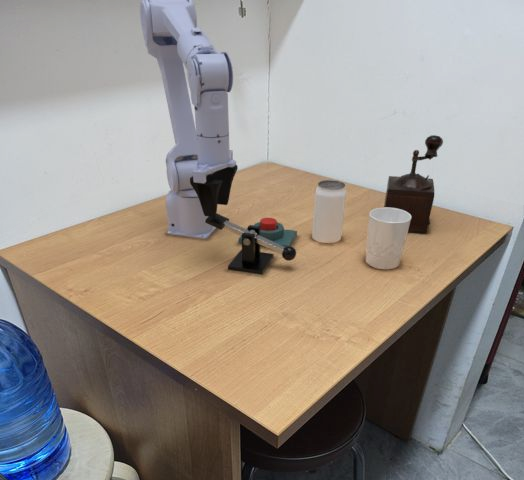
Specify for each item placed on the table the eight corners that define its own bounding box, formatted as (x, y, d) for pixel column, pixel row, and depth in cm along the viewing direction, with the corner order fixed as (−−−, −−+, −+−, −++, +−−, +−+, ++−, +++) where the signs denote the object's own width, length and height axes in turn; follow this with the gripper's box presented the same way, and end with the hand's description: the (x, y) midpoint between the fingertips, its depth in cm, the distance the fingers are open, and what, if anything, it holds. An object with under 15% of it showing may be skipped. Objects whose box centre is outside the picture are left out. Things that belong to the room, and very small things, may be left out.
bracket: (228, 270, 95) (226, 236, 91) (241, 253, 101) (240, 220, 97) (262, 275, 94) (262, 240, 89) (273, 258, 100) (274, 224, 95)
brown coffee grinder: (430, 234, 110) (449, 151, 99) (380, 229, 112) (393, 147, 101) (427, 210, 122) (444, 133, 112) (382, 206, 124) (395, 130, 113)
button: (257, 230, 104) (258, 222, 103) (262, 224, 107) (262, 216, 106) (274, 232, 103) (274, 224, 102) (278, 226, 106) (278, 218, 105)
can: (339, 246, 105) (346, 190, 98) (310, 243, 106) (314, 188, 99) (342, 234, 110) (348, 180, 103) (313, 231, 111) (317, 178, 104)
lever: (203, 227, 93) (206, 214, 92) (211, 219, 97) (214, 207, 95) (290, 266, 93) (295, 254, 91) (295, 257, 96) (300, 245, 94)
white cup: (404, 257, 101) (413, 210, 95) (399, 274, 95) (409, 225, 89) (365, 251, 103) (372, 205, 97) (359, 267, 97) (366, 219, 91)
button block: (238, 244, 105) (238, 230, 103) (249, 230, 111) (249, 217, 109) (287, 251, 102) (288, 237, 100) (296, 236, 108) (297, 222, 107)
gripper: (219, 146, 78) (222, 226, 86) (247, 126, 89) (248, 199, 97) (179, 142, 80) (186, 221, 88) (211, 123, 91) (215, 195, 99)
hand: (216, 209), depth 93 cm, fingers open, 6 cm apart
